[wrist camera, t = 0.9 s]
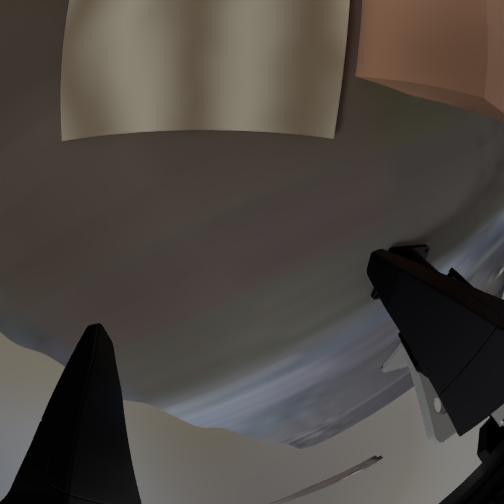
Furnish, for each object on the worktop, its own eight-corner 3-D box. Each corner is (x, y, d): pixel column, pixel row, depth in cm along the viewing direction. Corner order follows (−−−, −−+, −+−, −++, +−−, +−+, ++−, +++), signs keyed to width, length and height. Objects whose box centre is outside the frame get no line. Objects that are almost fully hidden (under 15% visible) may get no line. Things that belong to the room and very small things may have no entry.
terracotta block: (418, 15, 14) (528, 21, 5) (411, 95, 18) (524, 130, 9) (362, -13, 13) (481, -34, 4) (355, 76, 17) (483, 98, 8)
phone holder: (457, 322, 44) (508, 385, 30) (429, 357, 49) (472, 419, 35) (410, 329, 38) (474, 416, 24) (377, 371, 43) (426, 453, 28)
